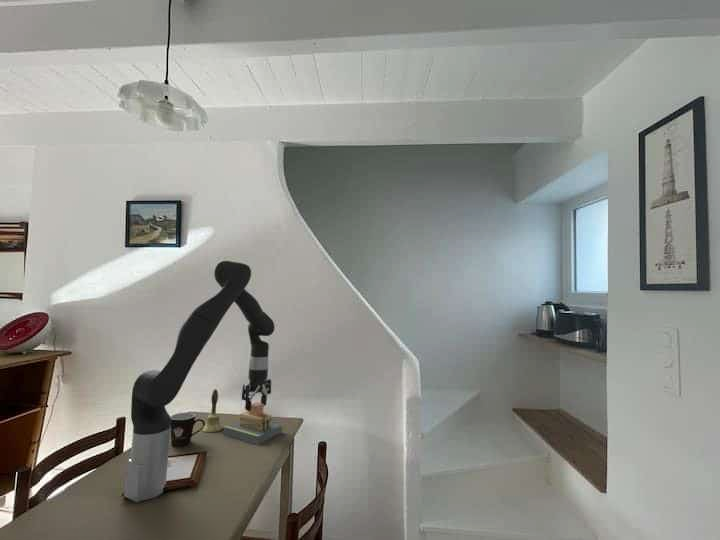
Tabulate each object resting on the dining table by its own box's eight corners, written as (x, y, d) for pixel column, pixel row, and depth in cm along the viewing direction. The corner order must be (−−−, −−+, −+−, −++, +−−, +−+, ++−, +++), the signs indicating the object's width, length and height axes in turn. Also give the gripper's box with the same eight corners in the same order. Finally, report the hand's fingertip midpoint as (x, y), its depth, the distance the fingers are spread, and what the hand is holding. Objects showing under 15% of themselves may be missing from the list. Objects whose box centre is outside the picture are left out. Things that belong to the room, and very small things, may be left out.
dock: (257, 444, 133) (257, 436, 133) (223, 434, 141) (224, 426, 141) (281, 433, 145) (282, 425, 145) (249, 424, 154) (250, 417, 154)
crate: (256, 416, 141) (256, 406, 141) (248, 414, 142) (249, 404, 143) (263, 413, 144) (263, 403, 144) (255, 412, 146) (256, 402, 146)
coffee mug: (162, 446, 129) (164, 417, 130) (181, 437, 137) (183, 411, 138) (187, 451, 125) (189, 422, 126) (205, 442, 133) (207, 415, 134)
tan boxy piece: (260, 432, 138) (260, 418, 138) (239, 426, 143) (240, 413, 143) (270, 427, 143) (271, 414, 143) (250, 422, 148) (251, 409, 148)
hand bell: (202, 426, 150) (205, 387, 151) (223, 424, 152) (226, 387, 154) (200, 433, 142) (203, 392, 143) (222, 431, 144) (224, 392, 146)
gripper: (252, 371, 137) (249, 414, 135) (277, 366, 150) (274, 405, 148) (238, 368, 140) (235, 410, 139) (263, 363, 153) (261, 402, 152)
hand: (256, 407), depth 144 cm, fingers open, 8 cm apart
